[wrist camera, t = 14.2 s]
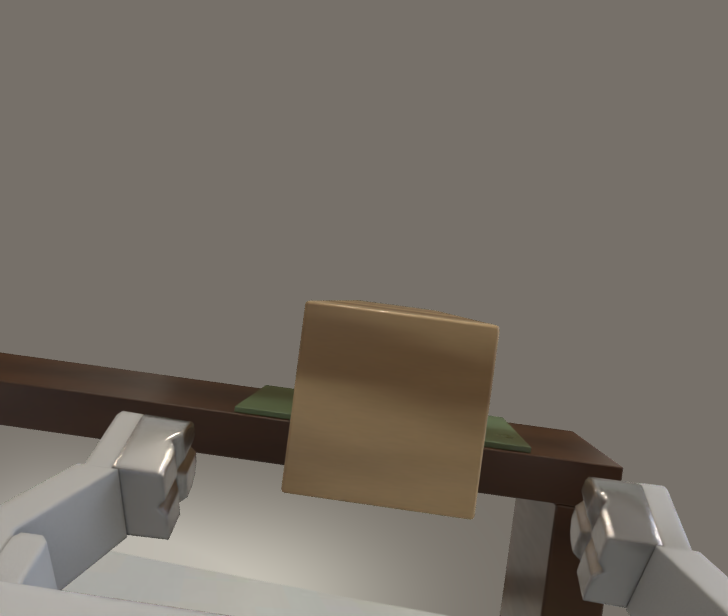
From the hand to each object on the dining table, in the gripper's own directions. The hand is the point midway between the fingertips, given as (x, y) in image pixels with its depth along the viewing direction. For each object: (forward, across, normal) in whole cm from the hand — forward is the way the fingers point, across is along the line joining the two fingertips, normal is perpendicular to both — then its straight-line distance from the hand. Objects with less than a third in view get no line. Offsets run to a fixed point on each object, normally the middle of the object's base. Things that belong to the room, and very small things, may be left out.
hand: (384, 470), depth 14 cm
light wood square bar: (+9, 0, +6) cm, 11 cm away
